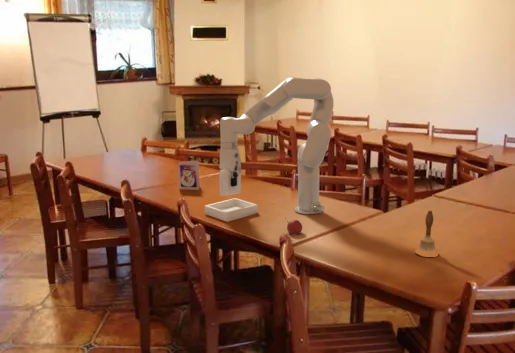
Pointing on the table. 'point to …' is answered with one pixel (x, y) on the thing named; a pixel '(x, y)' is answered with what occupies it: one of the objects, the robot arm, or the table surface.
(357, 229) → the table surface
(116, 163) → the table surface
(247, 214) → the box
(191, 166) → the greeting card
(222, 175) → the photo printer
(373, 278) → the table surface
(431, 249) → the hand bell
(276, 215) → the table surface
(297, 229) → the fruit
